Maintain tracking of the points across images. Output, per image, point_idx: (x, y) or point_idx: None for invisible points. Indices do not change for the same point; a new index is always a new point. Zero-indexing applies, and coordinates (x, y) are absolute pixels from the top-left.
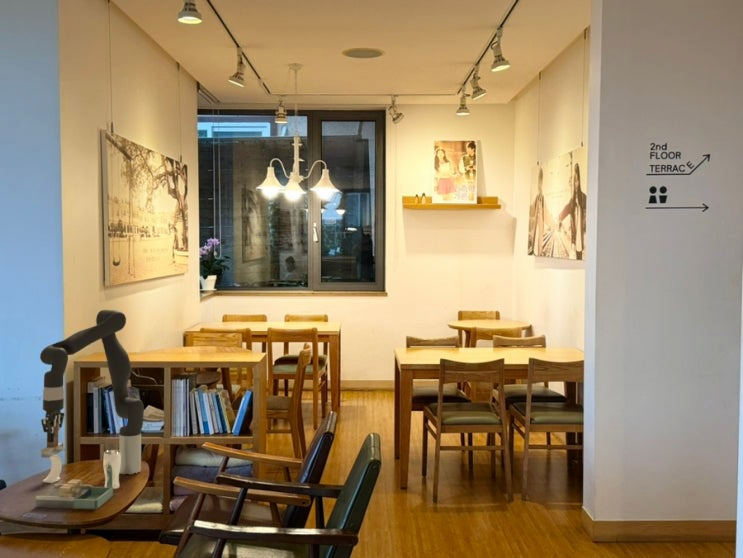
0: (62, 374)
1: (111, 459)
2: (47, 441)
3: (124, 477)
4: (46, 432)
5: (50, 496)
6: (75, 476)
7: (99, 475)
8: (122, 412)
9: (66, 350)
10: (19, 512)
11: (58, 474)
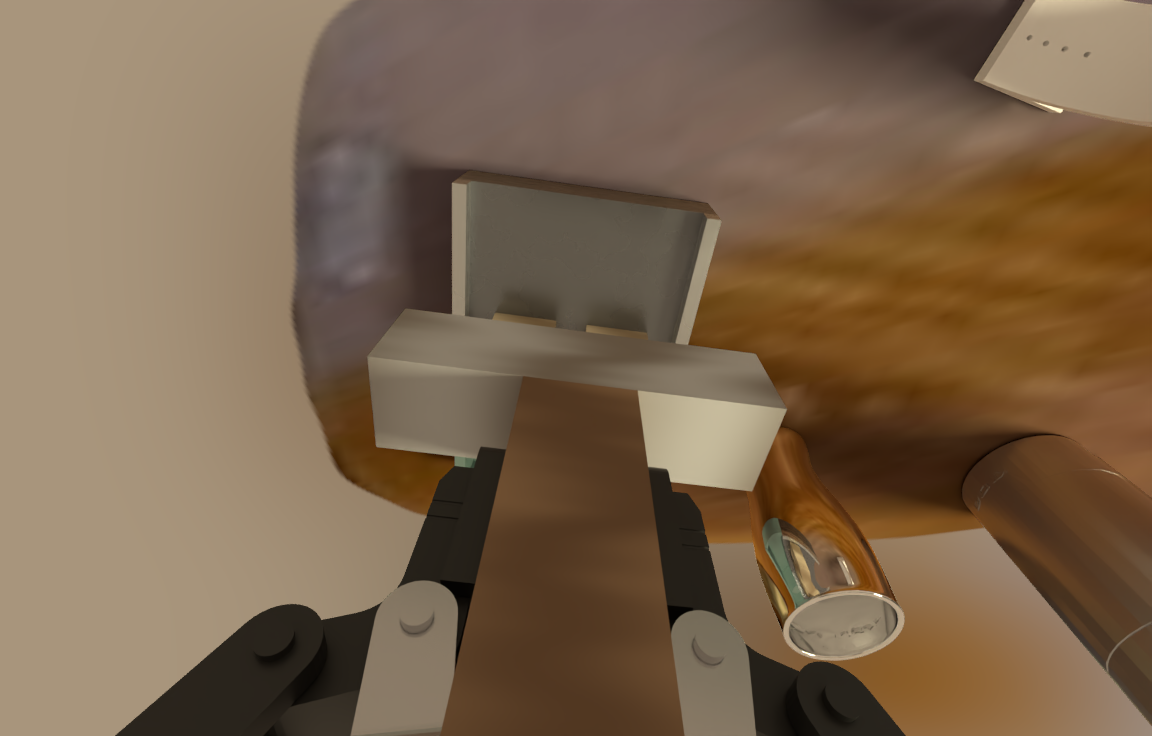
0: None
1: (770, 599)
2: (480, 450)
3: (924, 472)
4: (335, 619)
5: (459, 279)
6: (1075, 206)
7: (1023, 349)
8: None
9: None
10: (371, 99)
11: (1067, 108)
